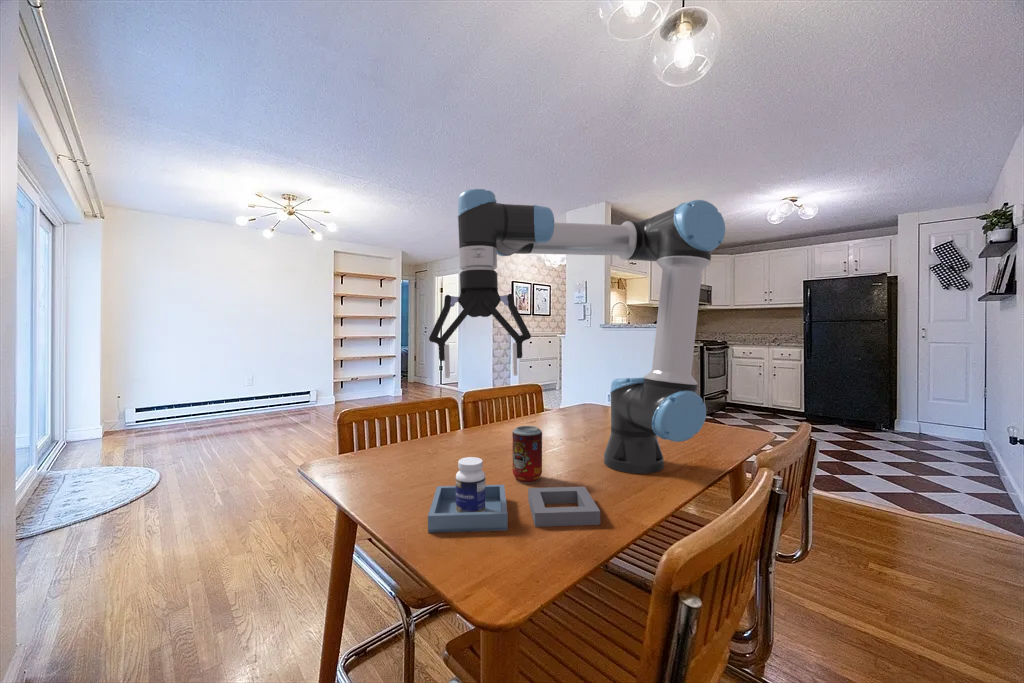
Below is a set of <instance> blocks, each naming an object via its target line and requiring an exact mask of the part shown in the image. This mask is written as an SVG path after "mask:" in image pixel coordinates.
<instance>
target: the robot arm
mask: <svg viewBox="0 0 1024 683" xmlns="http://www.w3.org/2000/svg"><path fill="white" fill-rule="evenodd" d="M457 205H458V208H457V209H458V210H457V211H458V212H457V222H458V223H457V226H458V245H459V246H458V248H459V249H458V253H459V254H458V256H459V269H460V270H462V271H460V273H459V284H460V285H459V288H460V289H459V290H460V291H459V296H454V295H450V294H445V296H444V302H443V307H442V309H441V311H440V313H439V316H438V318H437V320H436V322H435V325H434V326H433V329H432V331H431V333H430V335H429V337H428V339H429V342H432V343H435V344H437V346H438V359H439V361H440V362H444V374H445V375H444V378H445V379H450V377H451V371H450V370H451V369H450V344H446V343H447V341H448V339H449V338H450V337H451V336H452V335H453V333H454V332H456V330H457V329H458V327H459V326H460V325H461V324H462V322H464V321H465V319H466V317H467V316H469V317H471V318H478V317H483V318H488V317H490V316H492V317H493V318H494V319H495V320H496V321H497V322H498V323H499V324H500V325H501V326H502V328H503V329H504V330H505V331H506V332H507V333H508V335H510V337H511V338H512V339H513V340H514V341H515V342H511V365H512V376H514V377H515V376H518V359H522V358H523V342H525V341H527V340H530V339H531V338H532V335H531V333H530V331H529V329H528V327H527V324H525V321H524V320H523V318H522V315H521V314H520V312H519V310H518V308H517V306H516V305H515V304H516V303H515V297H514V294H513V293H508V294H506V295H500V293H499V287H498V286H499V285H498V284H499V282H498V272H497V269H498V256H500V257H509V256H512V255H514V254H517V255H519V254H521V255H526V254H527V255H530V254H532V255H533V254H535V255H570V256H571V255H573V256H574V255H577V256H578V255H579V256H583V255H584V256H586V255H587V256H618V257H619V259H621V260H623V261H624V260H625V261H626V260H627V261H644V262H646V261H647V262H656V264H657V265H658V266H659V267H660V269H661V270H662V271H661V279H660V280H661V281H660V289H659V297H658V298H659V299H658V308H657V309H658V310H657V316H656V317H657V318H656V328H655V338H654V347H653V355H652V356H653V357H652V365H651V371H649V372H648V373H647V374H646V375H644V376H643V377H626V378H620V377H619V378H615V379H613V380H612V382H611V384H610V434H609V438H608V441H607V444H606V448H605V450H604V453H603V464H604V465H606V466H607V467H608V468H610V469H613V470H615V471H618V472H622V473H629V474H641V475H642V474H654V473H657V472H660V471H663V469H664V466H665V464H664V462H665V460H664V454H663V453H662V452H663V451H662V450H661V446H660V444H659V440H658V438H660V439H662V440H667V441H670V442H674V443H680V442H681V443H682V442H686V441H688V440H690V439H692V438H694V436H695V435H697V434H698V433H699V432H700V431H701V429H702V428H703V426H704V424H705V421H706V418H707V407H706V403H705V402H704V401H703V398H702V397H701V396H700V395H699V394H697V392H698V382H697V381H696V378H694V377H693V376H692V370H693V361H694V350H695V342H696V341H695V340H696V333H697V332H696V331H697V323H698V313H699V305H700V304H699V302H700V294H701V284H702V283H701V282H702V275H703V274H702V273H703V270H705V269H707V267H708V266H710V264H711V260H712V253H713V252H712V251H714V250H716V248H718V247H719V246H720V244H722V243H723V241H724V240H725V235H726V223H725V220H724V217H723V215H722V213H721V212H719V211H718V208H717V207H716V206H715V205H714V204H713V203H711V202H709V201H707V200H703V199H695V200H690V201H687V202H683V203H682V202H681V203H680V204H679V205H677V206H676V207H673V208H671V209H669V210H666V211H664V212H662V213H659V214H656V215H654V216H652V217H648V218H646V219H641V220H637V221H634V220H633V221H631V220H625V221H623V222H622V224H603V223H602V224H600V223H599V224H597V223H579V222H578V223H576V222H575V223H574V222H555V217H554V213H553V210H552V209H551V208H550V207H549V206H541V205H537V204H533V205H531V204H530V205H529V204H526V205H525V204H509V203H508V204H506V203H502V202H501V203H499V202H497V199H496V195H495V193H494V192H493V191H492V190H487V189H484V188H472V189H467V190H465V191H463V192H461V193H460V194H459V196H458V204H457ZM500 302H502V303H503V304H504V306H507V307H508V310H509V311H510V314H511V316H512V318H513V320H514V321H515V324H516V325H517V327H518V329H519V331H520V332H521V335H519V333H518V332H517V330H515V328H514V327H513V326H512V325H511V324H510V323H509V321H507V320H506V319H505V317H504V316H503V315H502V314H501V312H500V311H499V310H498V309H497V308H498V305H499V304H500ZM456 303H459V305H460V306H461V307H462V311H461V312H460V313H459V315H458V316H457V317H456V318H455V319H454V321H453V322H452V323H451V324H450V326H449V327H448V328H447V329H446V331H445V332H444V333H443V334H442V336H440V337H439V334H440V333H441V330H442V328H443V326H444V324H445V322H446V319H447V317H448V315H449V313H450V310H451V307H455V305H456Z"/></svg>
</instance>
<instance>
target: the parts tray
mask: <svg viewBox="0 0 1024 683" xmlns="http://www.w3.org/2000/svg"><path fill="white" fill-rule="evenodd" d="M507 506H508V505H507V497H506V489H505V484H485V511H484V512H464V513H457V512H456V485H437V486H436V489H435V492H434V496H433V499H432V502H431V505H430V507H429V511H428V515H427V533H428V534H432V533H433V534H435V533H436V534H437V533H438V534H439V533H440V534H441V533H465V532H467V533H468V532H494V531H495V532H496V531H499V532H500V531H502V532H503V531H508V530H509V528H508V527H509V526H508V524H509V523H508V518H509V517H508V507H507Z"/></svg>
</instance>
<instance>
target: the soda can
mask: <svg viewBox="0 0 1024 683" xmlns="http://www.w3.org/2000/svg"><path fill="white" fill-rule="evenodd" d="M511 433H512V435H511V436H512V450H511V451H512V460H511V461H512V474H513V476H514V478H515V481H516V482H518V483H519V484H527V485H528V484H529V485H530V484H536V483H538V482H539V480H540V477H541V476H542V473H543V432H542V430H541V429H540V428H539V427H537V426H535V425H534V426H533V425H521V426H517V427H516V428H514V429H513V430H512V432H511Z"/></svg>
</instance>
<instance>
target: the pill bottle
mask: <svg viewBox="0 0 1024 683" xmlns="http://www.w3.org/2000/svg"><path fill="white" fill-rule="evenodd" d="M483 464H484V463H483V459H482V458H480V457H474V456H468V457H462V458H460V459H459V460H458V463H457V468H458V471H457V472H456V474H455V486H456V512H457V513H464V512H484V511H485V485H486V473H485V472H484V470H482V469H483V467H484V466H483Z"/></svg>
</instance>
